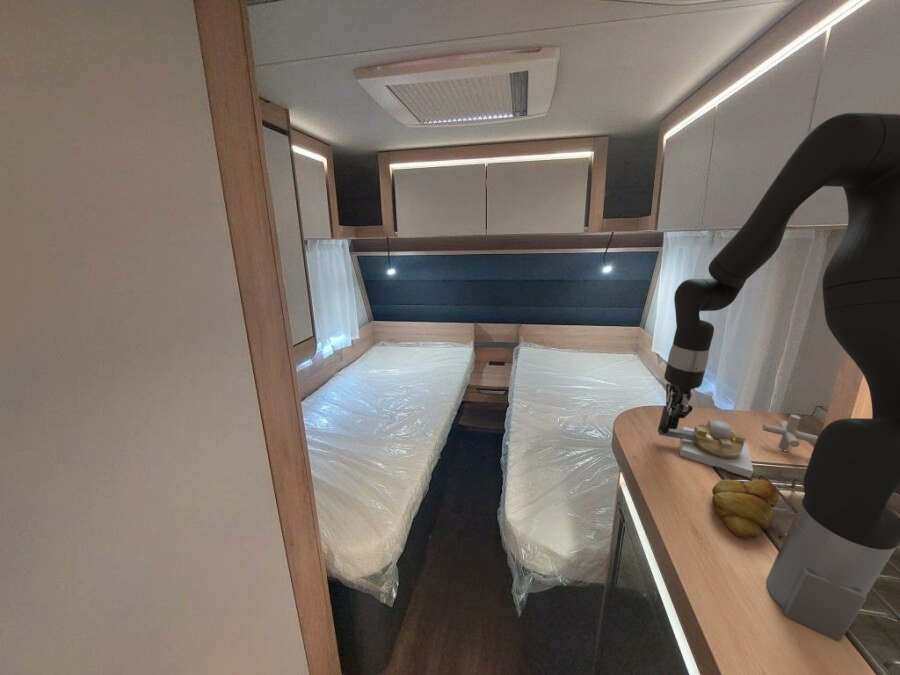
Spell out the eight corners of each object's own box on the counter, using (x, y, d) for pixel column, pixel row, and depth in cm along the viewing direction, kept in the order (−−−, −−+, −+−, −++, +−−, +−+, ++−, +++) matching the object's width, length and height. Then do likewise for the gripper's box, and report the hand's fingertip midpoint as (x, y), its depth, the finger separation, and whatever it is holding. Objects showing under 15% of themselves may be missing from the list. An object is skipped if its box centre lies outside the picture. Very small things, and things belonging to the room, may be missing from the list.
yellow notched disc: (731, 438, 91) (740, 409, 88) (747, 463, 82) (758, 432, 79) (653, 425, 96) (659, 397, 93) (660, 447, 87) (668, 417, 84)
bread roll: (763, 554, 62) (777, 521, 60) (699, 522, 69) (710, 490, 66) (770, 513, 71) (783, 483, 68) (713, 488, 77) (723, 459, 75)
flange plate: (750, 478, 80) (761, 448, 77) (679, 455, 88) (687, 427, 85) (745, 450, 89) (755, 423, 86) (681, 432, 97) (689, 406, 94)
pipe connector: (815, 467, 83) (830, 433, 80) (761, 453, 88) (774, 420, 85) (802, 445, 91) (816, 412, 88) (754, 433, 96) (765, 402, 93)
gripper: (715, 377, 73) (696, 445, 79) (695, 355, 85) (680, 416, 91) (675, 373, 76) (660, 439, 81) (661, 352, 88) (648, 411, 93)
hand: (670, 427), depth 86 cm, fingers closed
